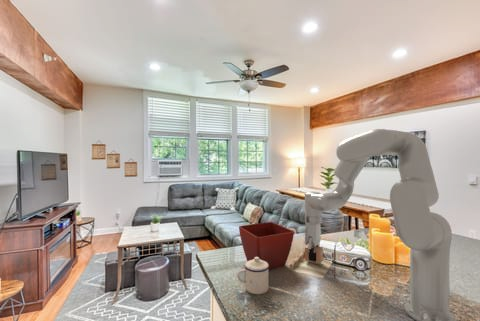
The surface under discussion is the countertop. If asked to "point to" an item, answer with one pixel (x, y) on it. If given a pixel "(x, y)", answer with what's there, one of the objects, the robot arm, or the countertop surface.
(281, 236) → the plant pot
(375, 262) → the countertop surface
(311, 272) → the cream flat slab
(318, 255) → the rust block
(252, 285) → the teacup with lid
